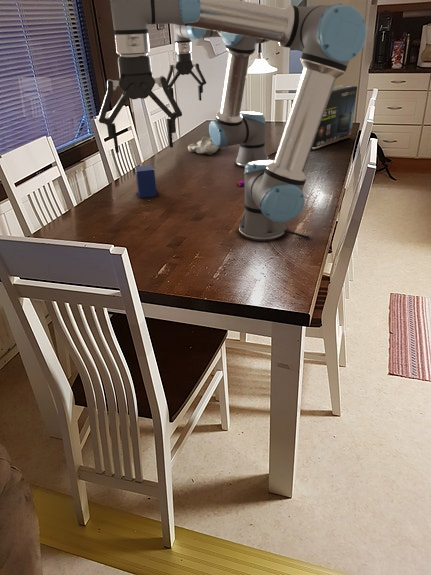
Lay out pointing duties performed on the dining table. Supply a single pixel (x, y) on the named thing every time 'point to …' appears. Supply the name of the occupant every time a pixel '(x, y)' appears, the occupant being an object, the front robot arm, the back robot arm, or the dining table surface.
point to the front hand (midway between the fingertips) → (144, 149)
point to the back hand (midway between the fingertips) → (186, 101)
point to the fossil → (204, 146)
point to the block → (145, 181)
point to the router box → (337, 115)
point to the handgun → (242, 183)
